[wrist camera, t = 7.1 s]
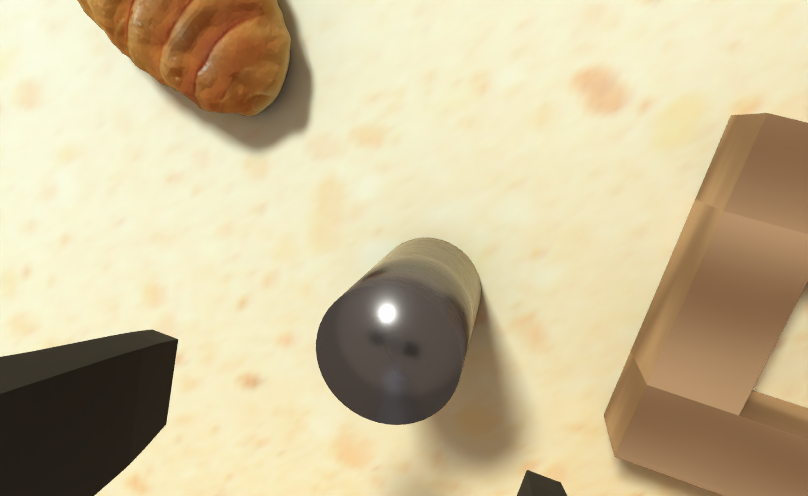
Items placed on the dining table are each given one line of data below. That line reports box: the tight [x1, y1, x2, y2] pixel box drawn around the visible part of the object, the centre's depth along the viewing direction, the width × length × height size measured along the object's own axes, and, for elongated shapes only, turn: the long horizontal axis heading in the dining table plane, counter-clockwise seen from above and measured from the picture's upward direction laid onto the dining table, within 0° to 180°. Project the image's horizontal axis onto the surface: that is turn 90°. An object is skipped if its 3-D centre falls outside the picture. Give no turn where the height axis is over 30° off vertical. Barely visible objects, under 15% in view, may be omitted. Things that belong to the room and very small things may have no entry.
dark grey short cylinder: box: [316, 238, 481, 425], centre depth 16 cm, size 4×4×6 cm
